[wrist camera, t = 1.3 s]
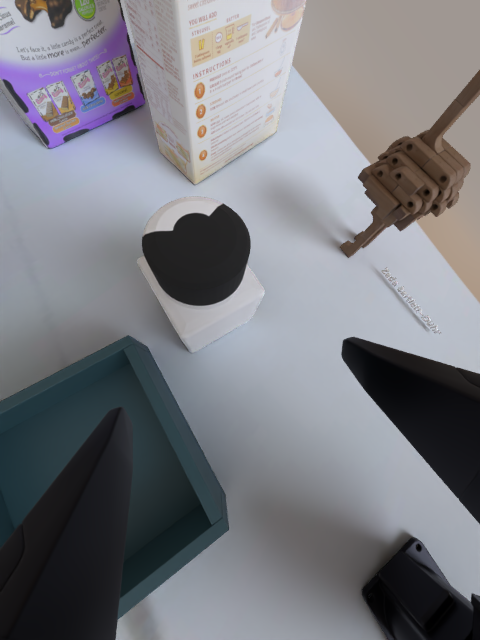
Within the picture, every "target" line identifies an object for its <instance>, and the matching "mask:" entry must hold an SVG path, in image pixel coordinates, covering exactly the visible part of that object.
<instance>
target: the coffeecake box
mask: <svg viewBox="0 0 480 640" xmlns="http://www.w3.org/2000/svg"><path fill="white" fill-rule="evenodd" d="M124 2H125V6H126V10H127V14H128V18H129V22H130V26H131V31H132V35H133V39H134V44H135V48H136V52H137V56H138V61H139V65H140V69H141V74H142V78H143V82H144V86H145V90H146V95H147V99H148V103H149V107H150V111H151V116H152V120H153V124H154V129H155V133H156V137H157V141H158V145H159V149H160V152H161V153H162V154H163V155H164V156H165V157H166V158H167V159H168V160H169V161H170V162H171V163H173V164H174V165H175V166H176V167H177V168H178V169H179V170H180V171H181V172H182V173H183V174H184V175H185V176H186V177H187V178H188V179H189V180H190V181H191V182H192V183H193V184H195V185H196V184H198V183H199V182H201V181H202V180H204V179H205V178H207V177H208V176H210V175H211V174H213V173H214V172H216V171H218V170H219V169H220V168H222V167H223V166H225V165H227V164H228V163H230V162H231V161H233V160H234V159H236V158H237V157H239V156H240V155H242V154H243V153H245V152H247V151H248V150H250V149H251V148H253V147H254V146H256V145H257V144H259V143H260V142H262V141H263V140H265V139H266V138H268V137H269V136H271V135H273V134H274V133H276V131H277V126H278V121H279V117H280V112H281V108H282V104H283V99H284V95H285V91H286V87H287V82H288V78H289V74H290V69H291V65H292V60H293V56H294V52H295V48H296V43H297V39H298V34H299V30H300V26H301V22H302V18H303V13H304V9H305V5H306V0H124Z"/></svg>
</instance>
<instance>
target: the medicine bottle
mask: <svg viewBox="0 0 480 640" xmlns="http://www.w3.org/2000/svg"><path fill="white" fill-rule="evenodd" d="M250 247H251V246H250V236H249V232H248V229H247V227H246V225H245V223H244V222H243V220H242V219H241V218H240V217H239V215H238V214H237V213H236V212H234V211H233V210H232V209H231V208H229V207H228V206H226V205H225V204H223V203H221V202H219V201H216V200H213V199H210V198H206V197H184V198H180V199H177V200H174V201H171V202H169V203H167V204H166V205H164V206H163V207H161V208H160V209H159V210H158V211H157V212H156V213H155V214H154V215H153V216H152V217H151V218H150V219H149V221H148V223H147V225H146V227H145V229H144V232H143V237H142V248H143V253H144V256H142V257H140V258H138V260H137V264H138V266H139V268H140V269H141V271H142V273H143V275H144V276H145V278H146V280H147V282H148V283H149V285H150V287H151V288H152V290H153V292H154V294H155V295H156V297H157V299H158V301H159V302H160V304H161V306H162V308H163V309H164V311H165V313H166V314H167V316H168V318H169V320H170V321H171V323H172V325H173V327H174V328H175V330H176V332H177V334H178V335H179V337H180V338H181V340H182V341H183V343H184V344H185V346H186V347H187V349H188V350H189V352H190V353H195V352H197V351H198V350H200V349H202V348H203V347H205V346H207V345H209V344H210V343H212V342H214V341H215V340H217V339H219V338H220V337H222V336H224V335H226V334H227V333H229V332H231V331H232V330H234V329H236V328H237V327H239V326H241V325H243V324H244V323H246V322H248V321H249V320H251V319H252V317H253V315H254V313H255V311H256V310H257V308H258V306H259V304H260V302H261V300H262V298H263V296H264V294H265V290H264V288H263V286H262V285H261V283H260V282H259V281H258V279H257V278H256V276H255V275H254V273H253V272H252V270H251V269H250V267H249V266H248V265H247V262H248V258H249V254H250Z"/></svg>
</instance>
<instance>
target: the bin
mask: <svg viewBox="0 0 480 640" xmlns="http://www.w3.org/2000/svg"><path fill="white" fill-rule="evenodd" d="M117 407H123V408H124V409H125V411H126V412H127V414H128V416H129V417H130V419H131V421H132V426H133V473H132V484H131V494H130V503H129V513H128V523H127V532H126V542H125V552H124V561H123V571H122V581H121V590H120V600H119V610H118V619H119V618H120V617H122V616H123V615H124V614H125V613H127V612H128V611H129V610H130V609H131V608H133V607H134V606H135V605H136V604H138V603H139V602H140V601H141V600H143V599H144V598H145V597H146V596H148V595H149V594H150V593H151V592H153V591H154V590H155V589H156V588H157V587H159V586H160V585H161V584H162V583H164V582H165V581H166V580H167V579H169V578H170V577H171V576H172V575H174V574H175V573H176V572H177V571H178V570H180V569H181V568H182V567H183V566H185V565H186V564H187V563H188V562H190V561H191V560H192V559H193V558H195V557H196V556H197V555H198V554H200V553H201V552H202V551H203V550H204V549H206V548H207V547H208V546H209V545H211V544H212V543H213V542H214V541H216V540H217V539H218V538H219V537H221V536H222V535H223V534H224V533H225V532H227V531H228V530H229V525H228V515H227V506H226V496H225V493H224V491H223V489H222V487H221V486H220V484H219V482H218V480H217V478H216V476H215V474H214V472H213V470H212V469H211V467H210V465H209V463H208V461H207V459H206V457H205V455H204V453H203V451H202V450H201V448H200V446H199V444H198V442H197V440H196V438H195V436H194V434H193V433H192V431H191V429H190V427H189V425H188V423H187V421H186V419H185V417H184V415H183V414H182V412H181V410H180V408H179V406H178V404H177V402H176V400H175V398H174V396H173V395H172V393H171V391H170V389H169V387H168V385H167V383H166V381H165V379H164V378H163V376H162V374H161V372H160V370H159V368H158V366H157V364H156V362H155V360H154V359H153V357H152V355H151V353H150V351H149V349H148V347H147V346H145V345H143V344H142V343H140V342H139V341H137V340H135V339H134V338H132V337H131V336H129V335H128V336H126V337H124V338H122V339H120V340H118V341H116V342H114V343H113V344H111V345H109V346H107V347H105V348H103V349H101V350H99V351H97V352H95V353H93V354H91V355H89V356H87V357H85V358H84V359H82V360H80V361H78V362H76V363H74V364H72V365H70V366H68V367H66V368H64V369H62V370H60V371H58V372H57V373H55V374H53V375H51V376H49V377H47V378H45V379H43V380H41V381H39V382H37V383H35V384H33V385H31V386H30V387H28V388H26V389H24V390H22V391H20V392H18V393H16V394H14V395H12V396H10V397H8V398H6V399H4V400H3V401H1V402H0V548H1V547H2V546H3V544H4V543H5V542H6V541H7V539H8V538H9V537H10V536H11V534H12V533H13V532H14V531H15V529H16V528H17V527H18V525H19V524H22V521H23V519H24V518H25V517H26V515H27V514H28V513H29V512H30V510H31V509H32V508H33V507H34V505H35V504H36V503H37V501H38V500H39V499H40V498H41V496H42V495H43V494H44V493H45V491H46V490H47V489H48V487H49V486H50V485H51V484H52V482H53V481H54V480H55V479H56V477H57V476H58V475H59V473H60V472H61V471H62V470H63V468H64V467H65V466H66V465H67V463H68V462H69V461H70V459H71V458H72V457H73V456H74V454H75V453H76V452H77V451H78V449H79V448H80V447H81V446H82V444H83V443H84V442H85V440H86V439H87V438H88V437H89V435H90V434H91V433H92V432H93V430H94V429H95V428H96V426H97V425H98V424H99V423H100V421H101V420H102V419H103V418H104V416H105V415H106V414H107V412H108V411H109V410H111V409H114V408H117ZM118 619H117V620H118Z"/></svg>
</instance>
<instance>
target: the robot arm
mask: <svg viewBox="0 0 480 640" xmlns="http://www.w3.org/2000/svg"><path fill="white" fill-rule="evenodd" d="M342 358H343V360H344V362H345V363H346V365H347V366H348V367H349V369H350V370H351V372H352V373H353V375H354V376H355V377H356V379H357V380H358V382H359V383H360V384H361V386H362V387H363V388H364V390H365V391H366V392H367V393H368V395H369V396H370V397H371V398H372V399H373V400H374V402H375V403H376V404H377V405H378V406H379V407H380V409H381V410H382V411H383V412H384V413H385V414H386V415H387V417H388V418H389V419H390V420H391V421H392V422H393V424H394V425H395V426H396V427H397V428H398V429H399V431H400V432H401V433H402V434H403V435H404V436H405V438H406V439H407V440H408V441H409V442H410V443H411V445H412V446H413V447H414V448H415V449H416V450H417V451H418V453H419V454H420V455H421V456H422V457H423V458H424V460H425V461H426V462H427V463H428V464H429V465H430V467H431V468H432V469H433V470H434V471H435V472H436V474H437V475H438V476H439V477H440V478H441V479H442V481H443V482H444V483H445V484H446V485H447V486H448V488H449V489H450V490H451V491H452V492H453V493H454V494H455V496H456V497H457V498H459V501H460V502H461V503H462V504H463V505H464V506H465V508H466V509H467V510H468V511H469V512H470V513H471V514H472V516H473V517H474V518H475V519H476V520H477V521H478V523H479V524H480V374H478V373H475V372H471V371H468V370H464V369H461V368H455V367H454V366H451V365H447V364H444V363H441V362H437V361H434V360H430V359H427V358H424V357H420V356H417V355H413V354H410V353H407V352H403V351H400V350H397V349H393V348H390V347H386V346H383V345H380V344H376V343H373V342H369V341H366V340H363V339H359V338H356V337H350V338H347V339H344V341H343V346H342ZM132 473H133V426H132V421H131V419H130V417H129V416H128V414H127V412H126V411H125V409H124V408H123V407H117V408H114V409H111V410H109V411H108V412H107V414H106V415H105V416H104V418H103V419H102V420H101V421H100V423H99V424H98V425H97V426H96V428H95V429H94V430H93V432H92V433H91V434H90V435H89V437H88V438H87V439H86V440H85V442H84V443H83V444H82V446H81V447H80V448H79V449H78V451H77V452H76V453H75V454H74V456H73V457H72V458H71V459H70V461H69V462H68V463H67V465H66V466H65V467H64V468H63V470H62V471H61V472H60V473H59V475H58V476H57V477H56V479H55V480H54V481H53V482H52V484H51V485H50V486H49V487H48V489H47V490H46V491H45V493H44V494H43V495H42V496H41V498H40V499H39V500H38V501H37V503H36V504H35V505H34V507H33V508H32V509H31V510H30V512H29V513H28V514H27V515H26V517H25V518H24V519H23V521H22V524H19V525H18V527H17V528H16V529H15V531H14V532H13V533H12V534H11V536H10V537H9V538H8V539H7V541H6V542H5V543H4V544H3V546H2V547H1V548H0V640H115V639H116V629H117V619H118V610H119V600H120V590H121V581H122V571H123V561H124V552H125V542H126V532H127V523H128V513H129V503H130V494H131V484H132ZM417 544H418V546H417V548H416V545H417ZM370 594H371V597H370V598H368V596H369V595H370ZM362 596H363V598H364V600H365V602H366V604H367V605H368V607H369V609H370V610H371V612H372V614H373V615H374V617H375V619H376V620H377V622H378V624H379V626H380V627H381V629H382V631H383V632H384V634H385V636H386V637H387V639H388V640H480V596H478V595H475V594H473V593H472V595H471V602H470V601H469V600H468V599H466V598H465V597H464V596H463V595H462V594H460V593H459V592H458V591H457V590H456V589H454V588H453V587H452V586H451V585H450V584H449V582H448V581H447V579H446V578H445V576H444V575H443V573H442V572H441V570H440V569H439V567H438V566H437V564H436V563H435V561H434V560H433V558H432V557H431V555H430V554H429V552H428V551H427V549H426V548H425V546H424V545H423V543H422V542H421V541H420V540H418V539H417V538H411V539H410V540H409V541H408V542H407V543H406V544H405V545H404V546H403V547H402V548H401V549H400V550H399V552H398V553H397V554H396V555H395V556H394V557H393V558H392V559H391V560H390V561H389V562H388V563H387V564H386V565H385V566H384V567H383V568H382V569H381V570H380V571H379V572H378V573H377V574H376V576H375V577H374V578H373V579H372V580H371V581H370V582H369V583H368V584H367V585H366V586H365V587H364V588H363V591H362Z"/></svg>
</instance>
